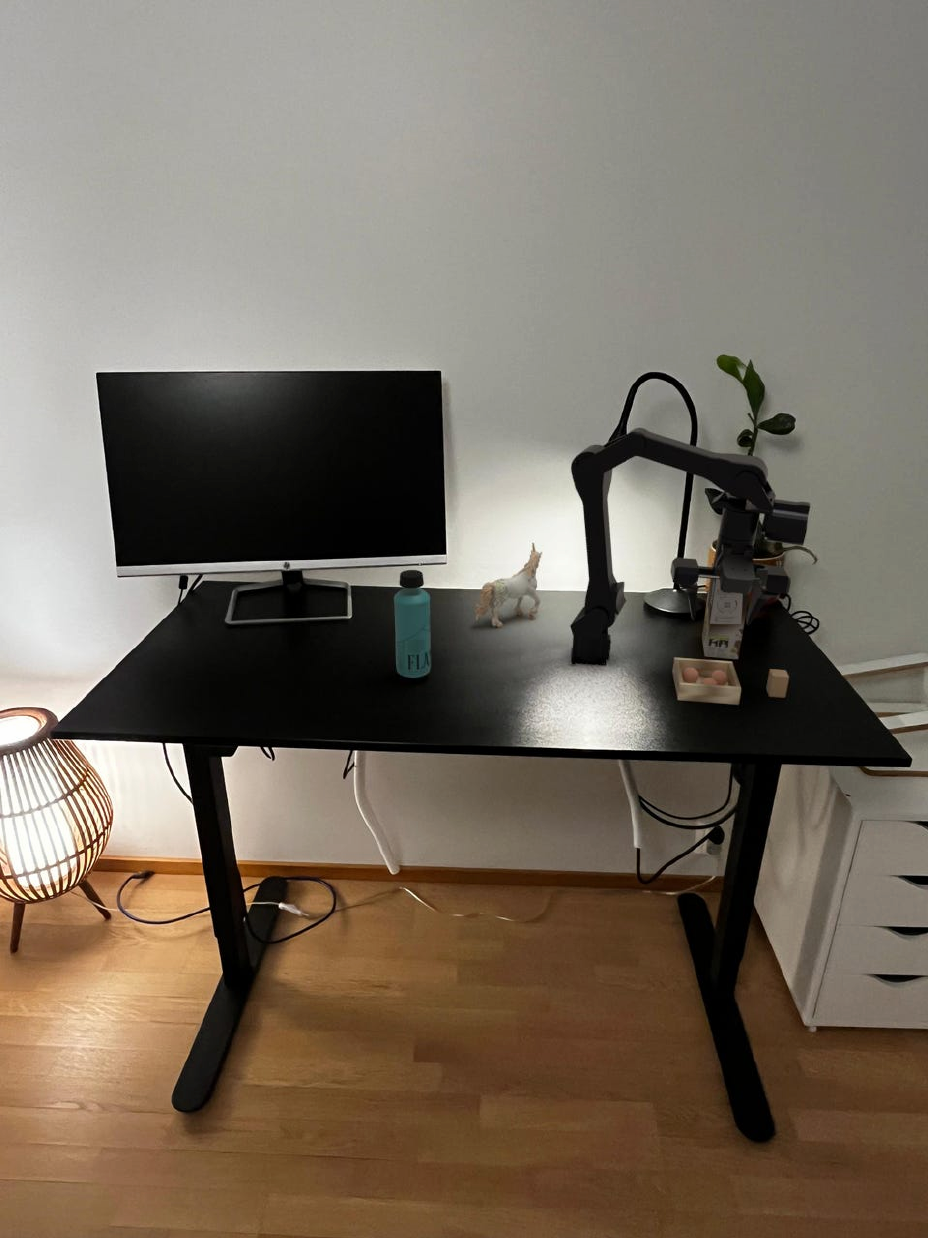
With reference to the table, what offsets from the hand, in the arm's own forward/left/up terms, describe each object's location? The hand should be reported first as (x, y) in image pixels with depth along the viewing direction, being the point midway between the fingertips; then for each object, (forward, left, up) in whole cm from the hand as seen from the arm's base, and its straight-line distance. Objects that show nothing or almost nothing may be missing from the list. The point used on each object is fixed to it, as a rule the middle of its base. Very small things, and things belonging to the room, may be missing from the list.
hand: (720, 621), depth 139 cm
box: (-2, -4, -12) cm, 12 cm away
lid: (+10, -4, -12) cm, 16 cm away
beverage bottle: (-53, -7, -12) cm, 54 cm away
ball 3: (+1, -2, -11) cm, 12 cm away
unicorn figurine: (-39, +23, -12) cm, 47 cm away
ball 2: (-1, -5, -11) cm, 13 cm away
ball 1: (-4, -2, -11) cm, 12 cm away
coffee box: (+3, +13, -12) cm, 18 cm away
